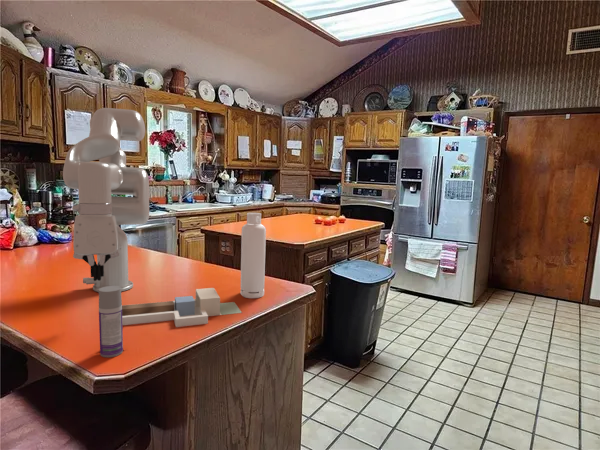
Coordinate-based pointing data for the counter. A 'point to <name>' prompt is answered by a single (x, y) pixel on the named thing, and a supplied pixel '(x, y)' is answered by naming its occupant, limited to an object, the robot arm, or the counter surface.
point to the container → (110, 321)
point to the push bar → (147, 308)
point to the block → (185, 305)
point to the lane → (204, 307)
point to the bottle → (253, 257)
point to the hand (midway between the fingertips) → (97, 279)
